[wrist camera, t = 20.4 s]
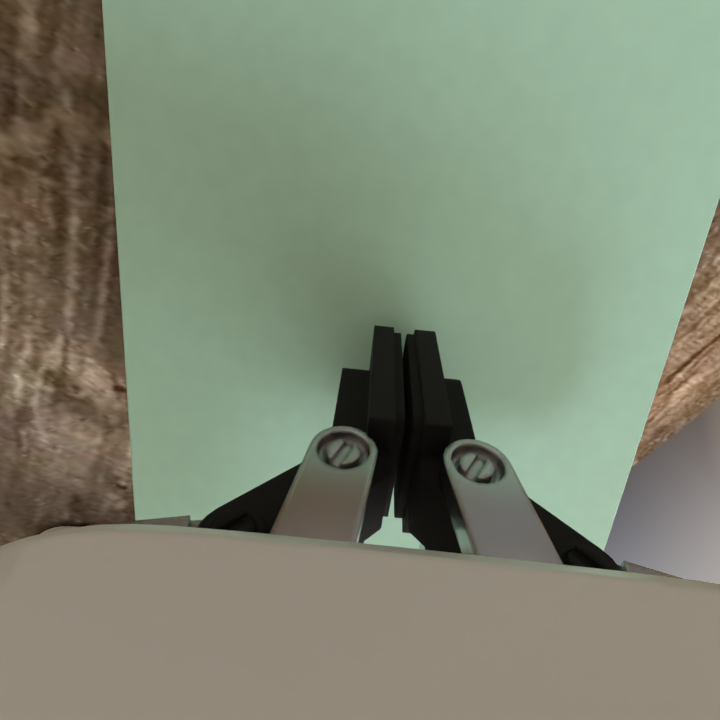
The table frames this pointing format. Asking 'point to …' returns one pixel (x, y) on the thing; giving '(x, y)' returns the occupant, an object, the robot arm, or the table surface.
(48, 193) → the table surface
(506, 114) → the lid
